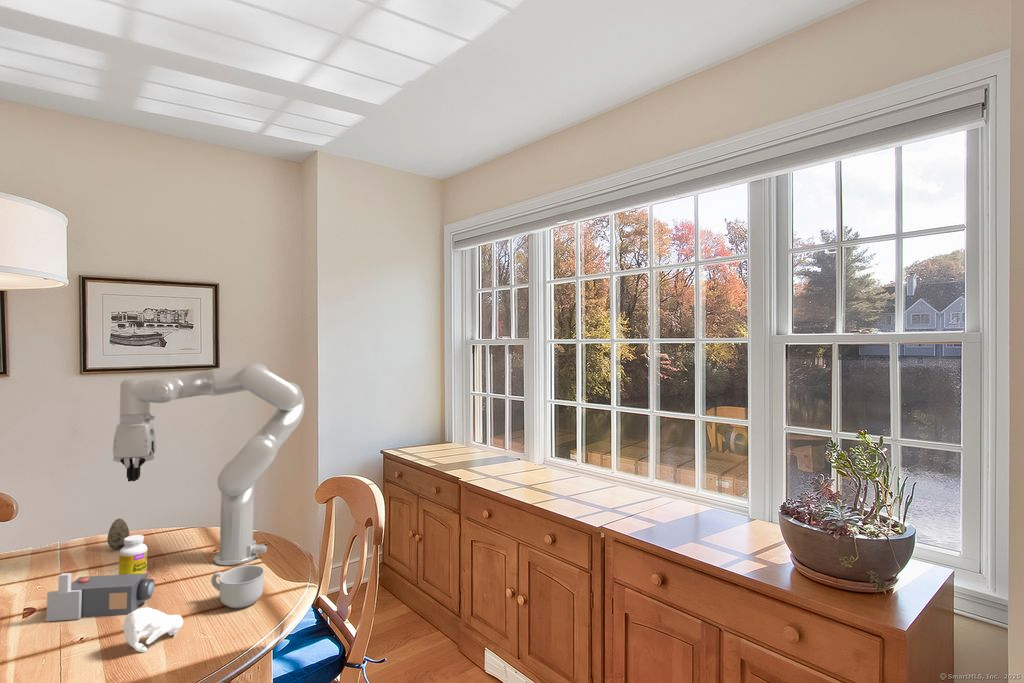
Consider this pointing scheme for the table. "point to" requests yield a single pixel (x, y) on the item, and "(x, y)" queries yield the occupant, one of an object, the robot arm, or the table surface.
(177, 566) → the table surface
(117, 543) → the decorative egg
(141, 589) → the camera body
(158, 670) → the table surface
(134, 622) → the white figurine
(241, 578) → the teacup
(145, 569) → the supplement bottle
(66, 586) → the grey t-shaped piece
